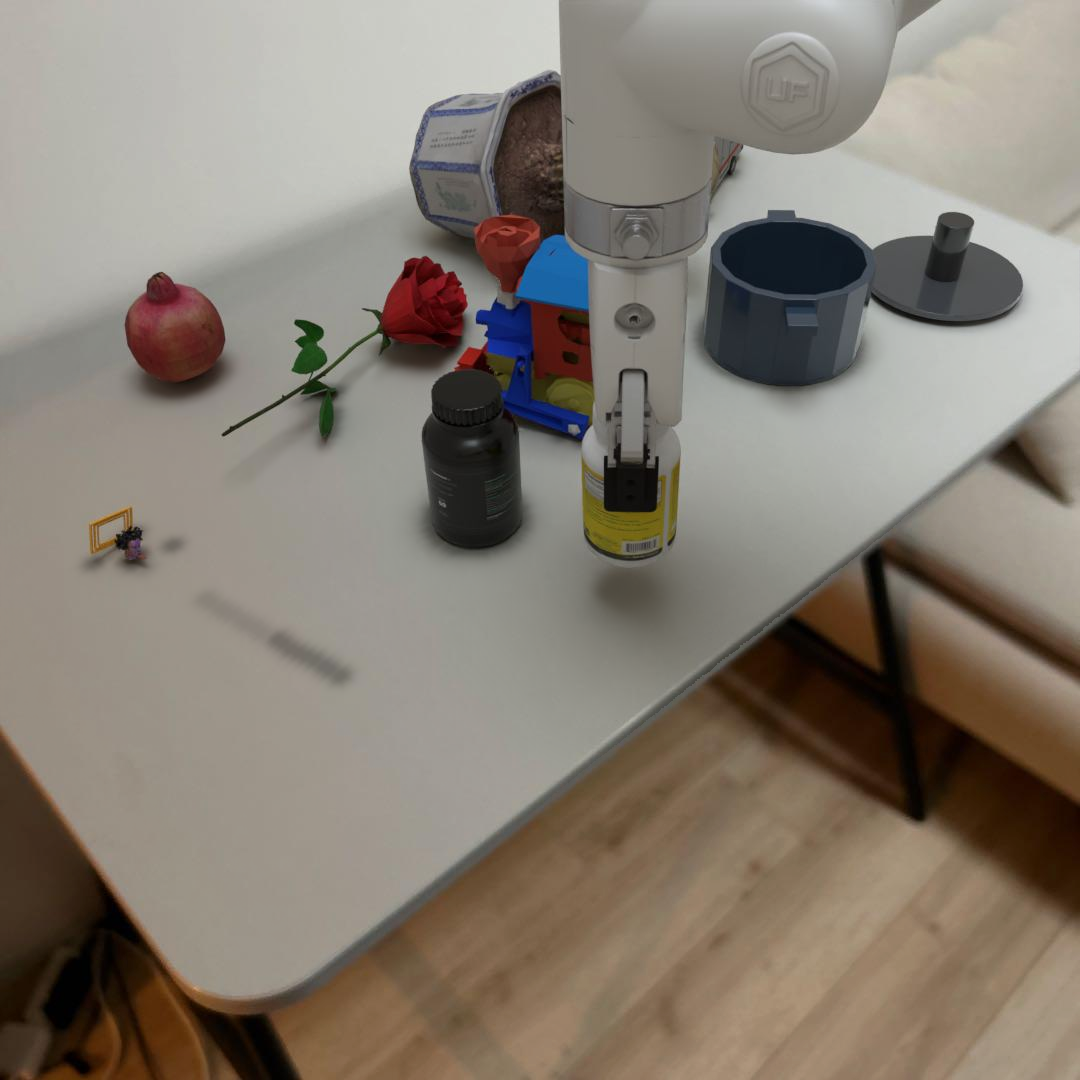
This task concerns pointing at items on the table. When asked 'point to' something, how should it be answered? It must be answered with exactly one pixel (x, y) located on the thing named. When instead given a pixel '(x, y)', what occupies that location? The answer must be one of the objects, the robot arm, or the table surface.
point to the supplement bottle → (472, 460)
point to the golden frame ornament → (119, 535)
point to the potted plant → (495, 158)
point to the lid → (946, 274)
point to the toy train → (536, 325)
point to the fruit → (174, 330)
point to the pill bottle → (629, 532)
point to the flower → (387, 327)
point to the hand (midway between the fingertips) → (630, 469)
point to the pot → (787, 299)
